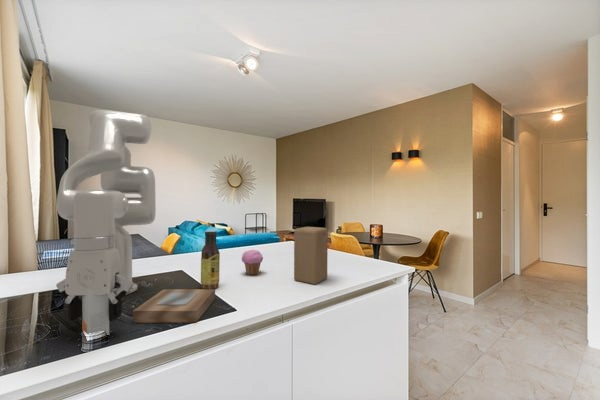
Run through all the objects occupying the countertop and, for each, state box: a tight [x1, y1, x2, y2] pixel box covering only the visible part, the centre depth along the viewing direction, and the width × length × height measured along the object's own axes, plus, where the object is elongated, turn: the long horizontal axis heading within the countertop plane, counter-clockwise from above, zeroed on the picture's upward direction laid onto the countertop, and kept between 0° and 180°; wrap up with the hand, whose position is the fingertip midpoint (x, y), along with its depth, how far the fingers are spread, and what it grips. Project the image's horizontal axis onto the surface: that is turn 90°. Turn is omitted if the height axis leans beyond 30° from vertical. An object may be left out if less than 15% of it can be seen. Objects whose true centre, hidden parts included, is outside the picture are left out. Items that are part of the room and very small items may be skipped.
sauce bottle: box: [200, 230, 221, 289], centre depth 96 cm, size 7×6×20 cm
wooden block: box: [293, 226, 329, 285], centre depth 106 cm, size 10×10×20 cm
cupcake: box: [241, 249, 264, 276], centre depth 114 cm, size 9×9×10 cm
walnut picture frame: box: [132, 288, 216, 324], centre depth 77 cm, size 16×16×3 cm
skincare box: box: [81, 288, 110, 336], centre depth 63 cm, size 6×4×12 cm
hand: (95, 318), depth 63 cm, fingers open, 8 cm apart
